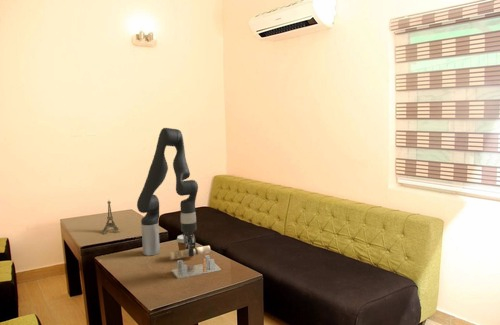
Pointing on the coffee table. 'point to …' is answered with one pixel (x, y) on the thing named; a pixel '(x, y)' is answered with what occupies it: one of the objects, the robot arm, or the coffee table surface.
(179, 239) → the disposable coffee cup
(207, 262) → the white peg stand
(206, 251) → the dowel
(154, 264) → the coffee table surface
